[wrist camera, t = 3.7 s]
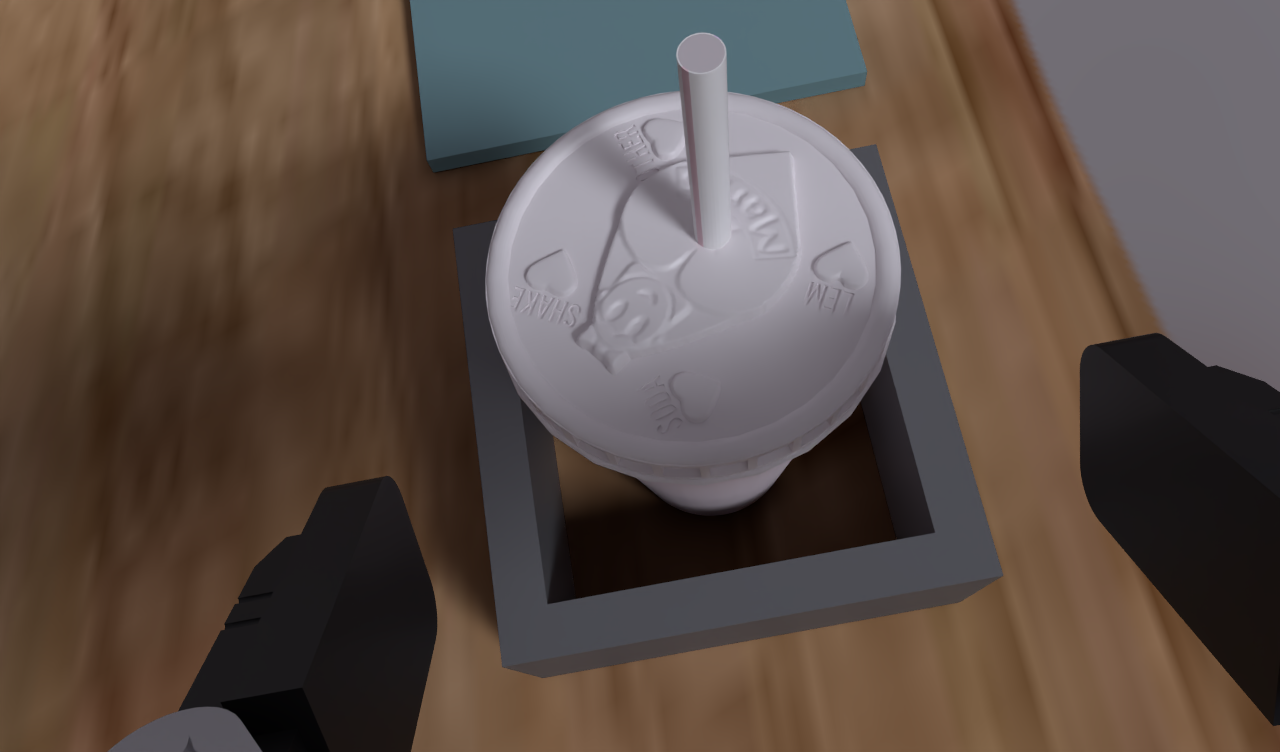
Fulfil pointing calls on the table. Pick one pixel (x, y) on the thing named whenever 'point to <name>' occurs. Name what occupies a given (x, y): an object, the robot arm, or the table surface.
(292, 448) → the table surface
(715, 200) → the smoothie
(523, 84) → the coaster
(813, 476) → the table surface
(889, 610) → the frame
